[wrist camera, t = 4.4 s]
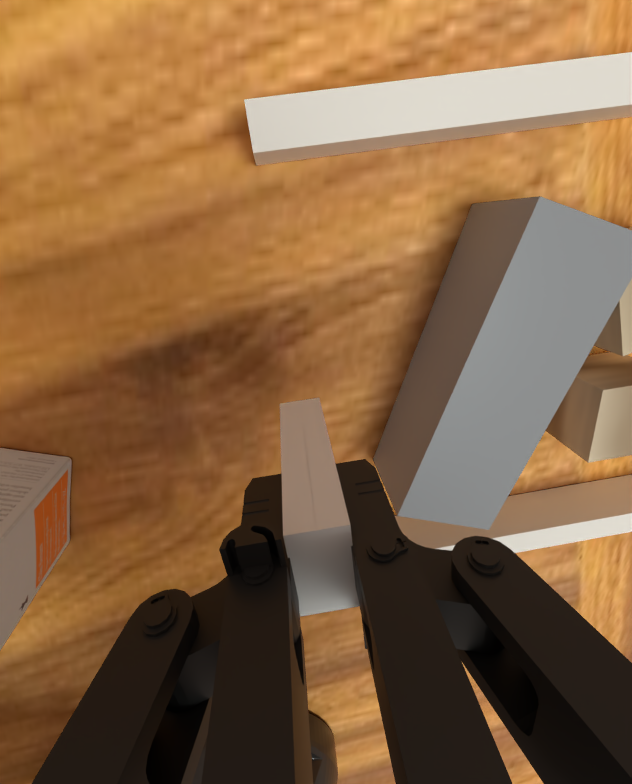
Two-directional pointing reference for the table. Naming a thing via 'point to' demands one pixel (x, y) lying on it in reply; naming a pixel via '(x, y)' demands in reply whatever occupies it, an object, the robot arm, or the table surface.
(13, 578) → the skincare box
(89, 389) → the table surface
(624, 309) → the chip
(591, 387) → the chip
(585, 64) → the channel
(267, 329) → the table surface
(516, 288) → the block
